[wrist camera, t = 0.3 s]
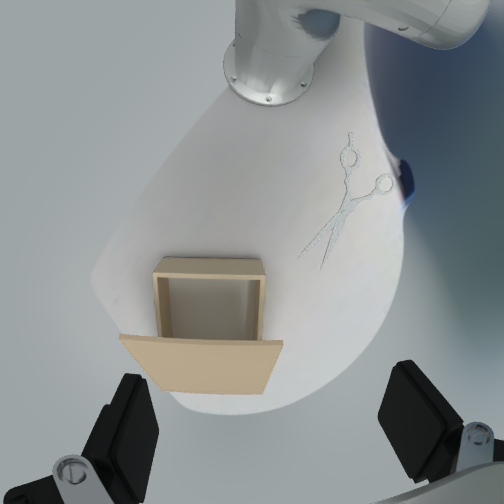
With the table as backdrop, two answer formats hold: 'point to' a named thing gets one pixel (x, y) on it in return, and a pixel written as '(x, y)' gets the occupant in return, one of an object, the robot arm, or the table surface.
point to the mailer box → (209, 298)
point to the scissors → (347, 201)
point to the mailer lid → (205, 363)
